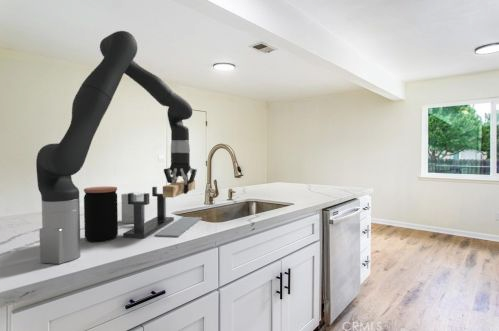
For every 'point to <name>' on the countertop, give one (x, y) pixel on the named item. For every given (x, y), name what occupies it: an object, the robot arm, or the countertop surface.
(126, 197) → the supplement box
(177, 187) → the rail
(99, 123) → the robot arm
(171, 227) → the mat
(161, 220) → the rack
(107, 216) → the coffee jar
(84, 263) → the countertop surface
